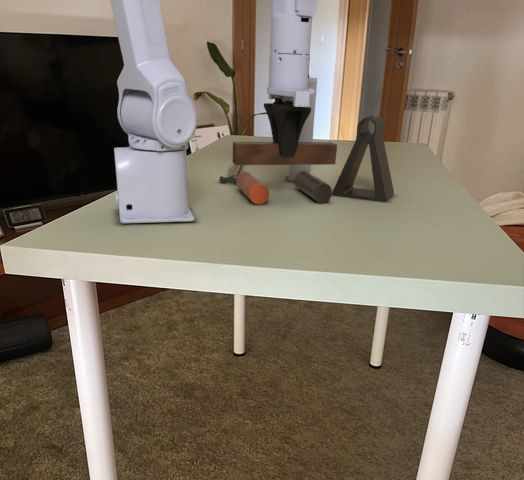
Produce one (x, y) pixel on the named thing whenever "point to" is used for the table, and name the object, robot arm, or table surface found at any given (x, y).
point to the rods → (302, 181)
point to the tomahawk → (232, 174)
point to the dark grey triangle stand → (378, 162)
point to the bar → (271, 156)
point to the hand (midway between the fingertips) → (284, 154)
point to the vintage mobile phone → (306, 130)
